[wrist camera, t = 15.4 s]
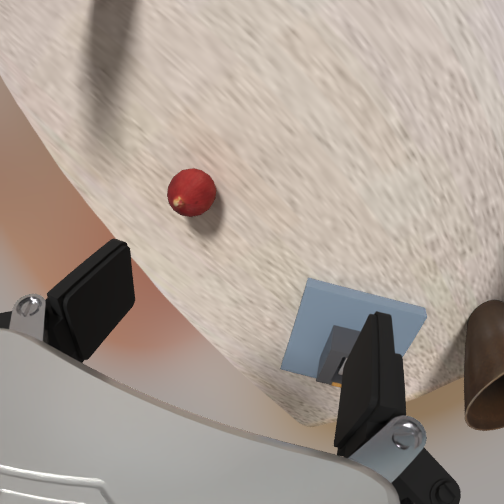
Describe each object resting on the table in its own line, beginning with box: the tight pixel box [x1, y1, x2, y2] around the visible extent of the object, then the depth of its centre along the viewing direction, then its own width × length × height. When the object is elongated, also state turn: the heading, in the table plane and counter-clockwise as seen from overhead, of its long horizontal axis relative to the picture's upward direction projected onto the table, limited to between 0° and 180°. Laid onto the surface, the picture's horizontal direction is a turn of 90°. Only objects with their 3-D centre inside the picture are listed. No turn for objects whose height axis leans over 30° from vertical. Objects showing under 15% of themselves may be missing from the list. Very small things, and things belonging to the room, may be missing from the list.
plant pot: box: [464, 300, 504, 431], centre depth 32 cm, size 15×15×16 cm
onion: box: [167, 168, 216, 217], centre depth 38 cm, size 6×6×8 cm
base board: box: [280, 278, 427, 378], centre depth 46 cm, size 18×18×2 cm
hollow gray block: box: [316, 325, 361, 387], centre depth 43 cm, size 7×7×5 cm
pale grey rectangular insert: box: [338, 357, 347, 375], centre depth 44 cm, size 2×4×4 cm, turn 172°
